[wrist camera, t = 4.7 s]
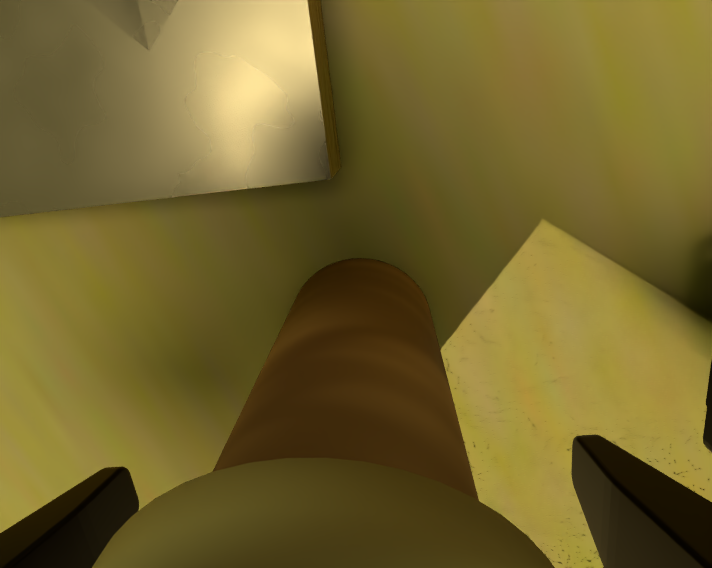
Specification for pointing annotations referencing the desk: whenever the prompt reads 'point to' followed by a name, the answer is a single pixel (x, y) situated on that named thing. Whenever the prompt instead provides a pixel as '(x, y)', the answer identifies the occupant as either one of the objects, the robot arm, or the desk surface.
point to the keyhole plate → (160, 100)
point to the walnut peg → (336, 452)
